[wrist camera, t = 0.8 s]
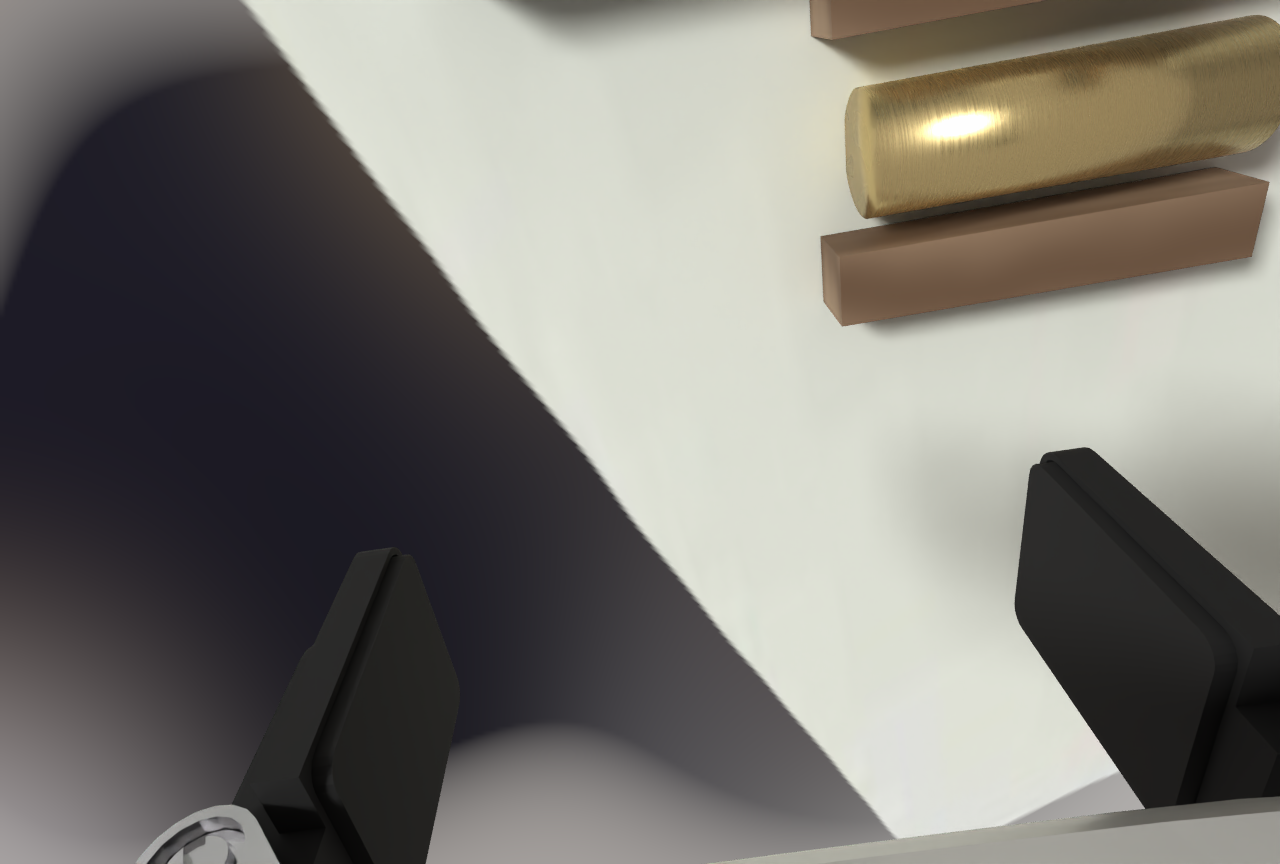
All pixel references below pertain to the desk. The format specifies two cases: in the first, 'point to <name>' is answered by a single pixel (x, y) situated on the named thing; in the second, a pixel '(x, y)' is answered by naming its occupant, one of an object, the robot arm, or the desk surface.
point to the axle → (1063, 116)
